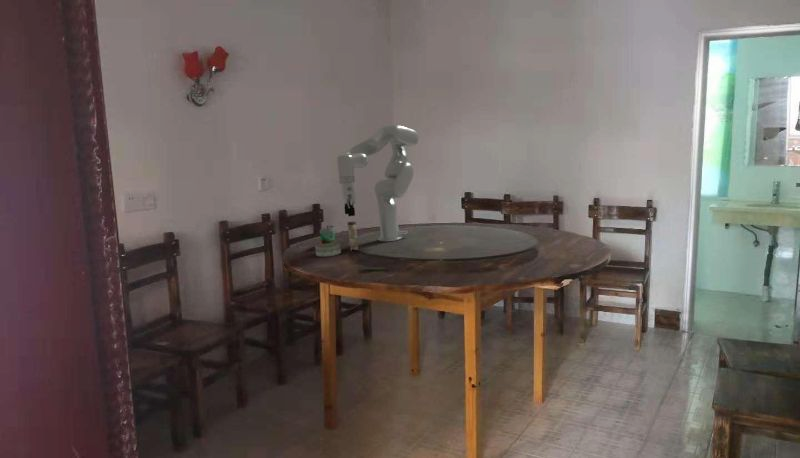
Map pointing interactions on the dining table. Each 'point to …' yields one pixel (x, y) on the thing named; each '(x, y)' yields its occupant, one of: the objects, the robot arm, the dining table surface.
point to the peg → (352, 235)
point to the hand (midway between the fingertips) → (350, 214)
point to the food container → (327, 235)
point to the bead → (328, 249)
